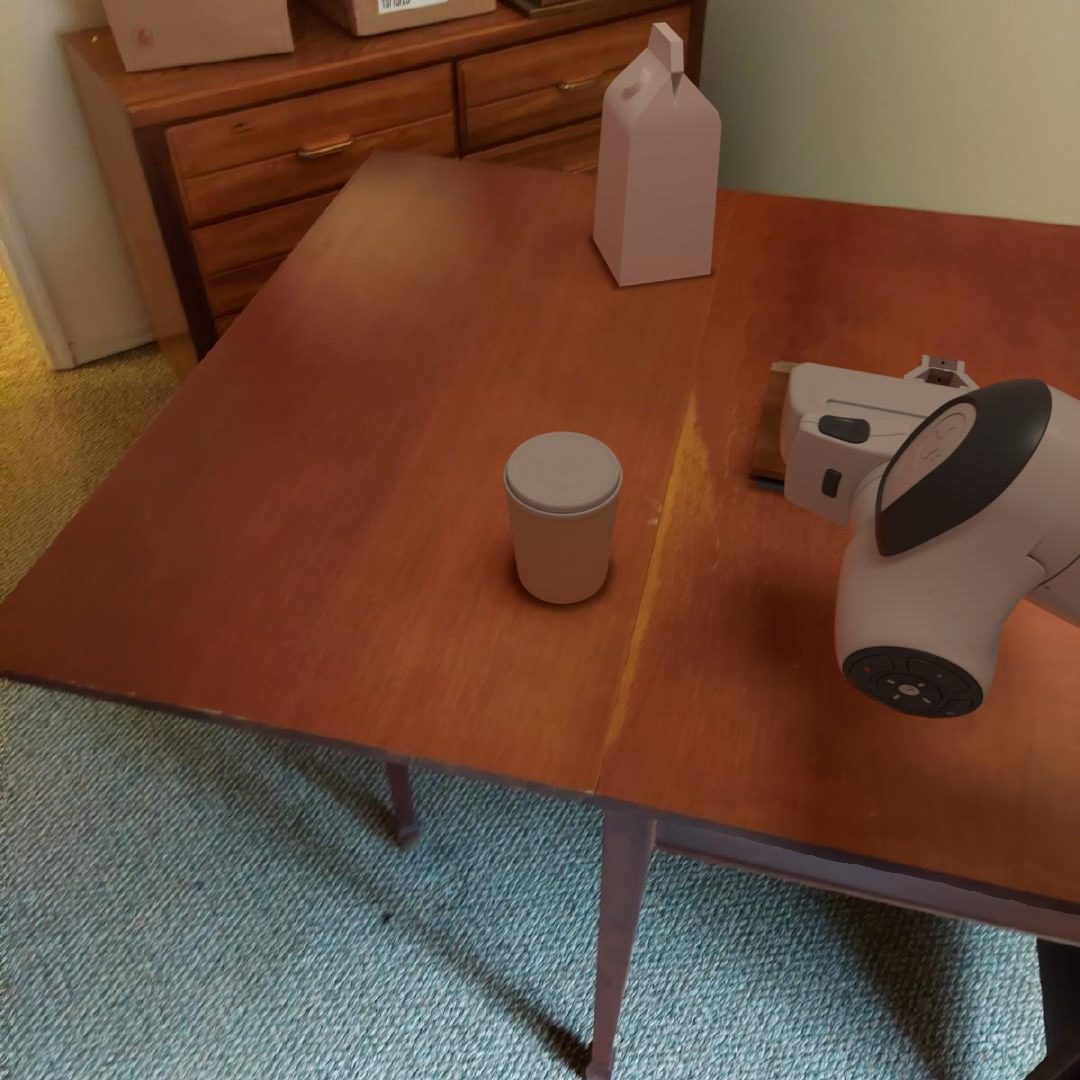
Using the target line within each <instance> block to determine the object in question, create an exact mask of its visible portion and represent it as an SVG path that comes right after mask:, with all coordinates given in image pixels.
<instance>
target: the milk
mask: <svg viewBox="0 0 1080 1080" xmlns="http://www.w3.org/2000/svg"><path fill="white" fill-rule="evenodd" d="M684 69H685V68H684V40H683V39H682V38H681V37H680V36H679V35H678V34H677V33H676V32H675V31H674V30H673V29H672V28H671V27H670V26H669V24H668V23H666V22H664V21H663V22H662V21H661V22H653V23H652V26H651V30H650V34H649V39H648V43H647V47H646V48H645V49H644V50H643V51H642V52H640V53H639V54H638V55H637V56H636V57H635V58H634V59H633V60H632V61H631V62H630V63H629V64H628V65H627V66H626V67H625V68H624V69H623V70H622V71H621V72H620V73H619V74H618V75H617V76H616V77H615V78H614V79H613V80H612V81H611V82H610V83H609V85H608V87H607V88H606V90H605V92H604V95H603V100H602V109H601V110H602V112H601V124H600V136H599V137H600V139H599V150H598V151H599V152H598V165H597V167H598V168H597V179H596V191H595V204H594V205H595V206H594V217H593V218H594V219H593V232H592V239H593V242H594V243H595V246H596V247H597V249H598V250H599V252H600V254H601V256H602V258H603V260H604V261H605V263H606V265H607V266H608V268H609V270H610V272H611V274H612V276H613V277H614V279H615V281H616V283H617V285H618V286H619V288H621V287H628V286H634V285H642V284H649V283H656V282H657V283H658V282H663V281H670V280H671V281H672V280H679V279H686V278H693V277H700V276H707V275H711V273H712V256H713V245H714V244H713V243H714V233H715V232H714V231H715V218H716V217H715V216H716V206H717V205H716V203H717V193H718V192H717V191H718V190H717V189H718V177H719V164H720V153H721V152H720V151H721V139H722V121H721V118H720V114H719V111H718V110H717V109H716V108H715V106H714V105H713V104H712V103H711V102H710V101H709V100H708V99H707V97H706V96H705V95H704V94H703V93H702V92H701V91H700V90H699V88H698V87H697V86H696V85H695V84H694V83H693V82H692V81H691V80H690V78H689V77H688V76H687V75H686V74H685V73H684V72H685V71H684Z"/></svg>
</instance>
